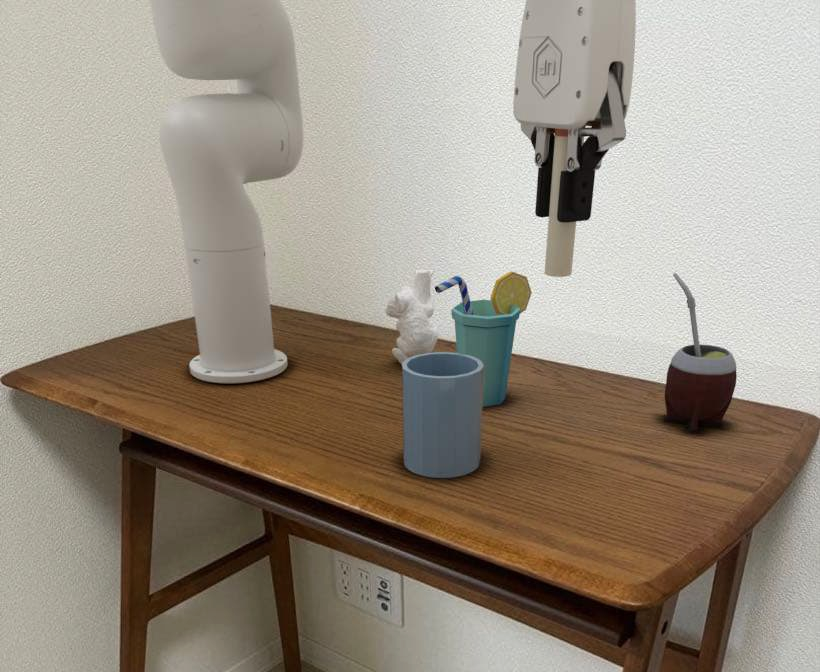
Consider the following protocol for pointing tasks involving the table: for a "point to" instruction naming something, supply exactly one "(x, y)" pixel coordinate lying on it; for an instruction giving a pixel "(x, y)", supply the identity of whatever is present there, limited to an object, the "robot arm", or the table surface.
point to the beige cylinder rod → (558, 232)
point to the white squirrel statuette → (413, 317)
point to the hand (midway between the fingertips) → (562, 216)
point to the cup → (490, 328)
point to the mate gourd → (699, 380)
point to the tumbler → (442, 414)
